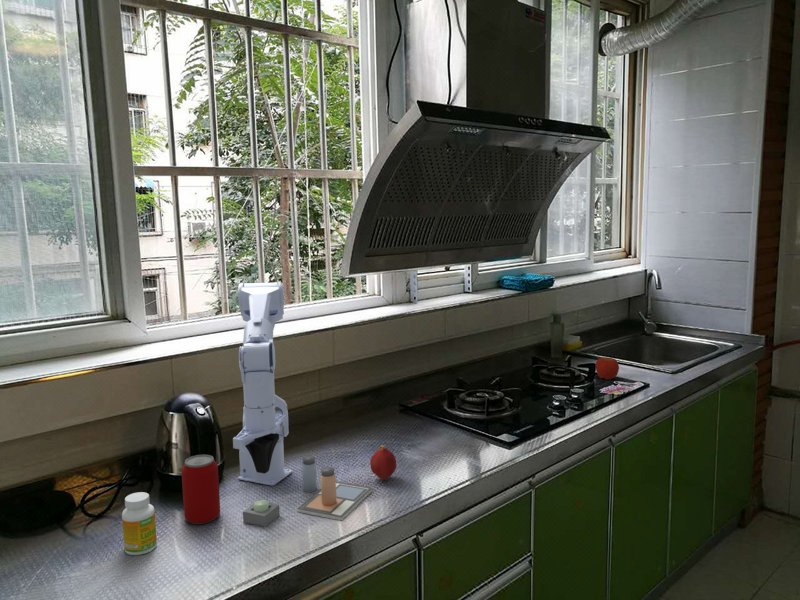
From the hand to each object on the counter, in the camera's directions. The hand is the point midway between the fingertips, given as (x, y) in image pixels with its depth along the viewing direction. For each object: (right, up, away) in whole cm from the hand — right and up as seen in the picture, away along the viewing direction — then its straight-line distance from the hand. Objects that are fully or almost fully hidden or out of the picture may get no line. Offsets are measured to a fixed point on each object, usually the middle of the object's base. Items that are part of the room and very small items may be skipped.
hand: (262, 471), depth 123 cm
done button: (0, -10, +1) cm, 10 cm away
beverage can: (-12, -10, +1) cm, 15 cm away
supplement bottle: (-20, -11, -9) cm, 25 cm away
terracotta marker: (+12, -8, +6) cm, 16 cm away
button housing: (0, -9, +1) cm, 9 cm away
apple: (+99, +6, +98) cm, 139 cm away
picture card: (+13, -8, +8) cm, 18 cm away
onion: (+23, -7, +18) cm, 30 cm away
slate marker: (+7, -7, +14) cm, 17 cm away
